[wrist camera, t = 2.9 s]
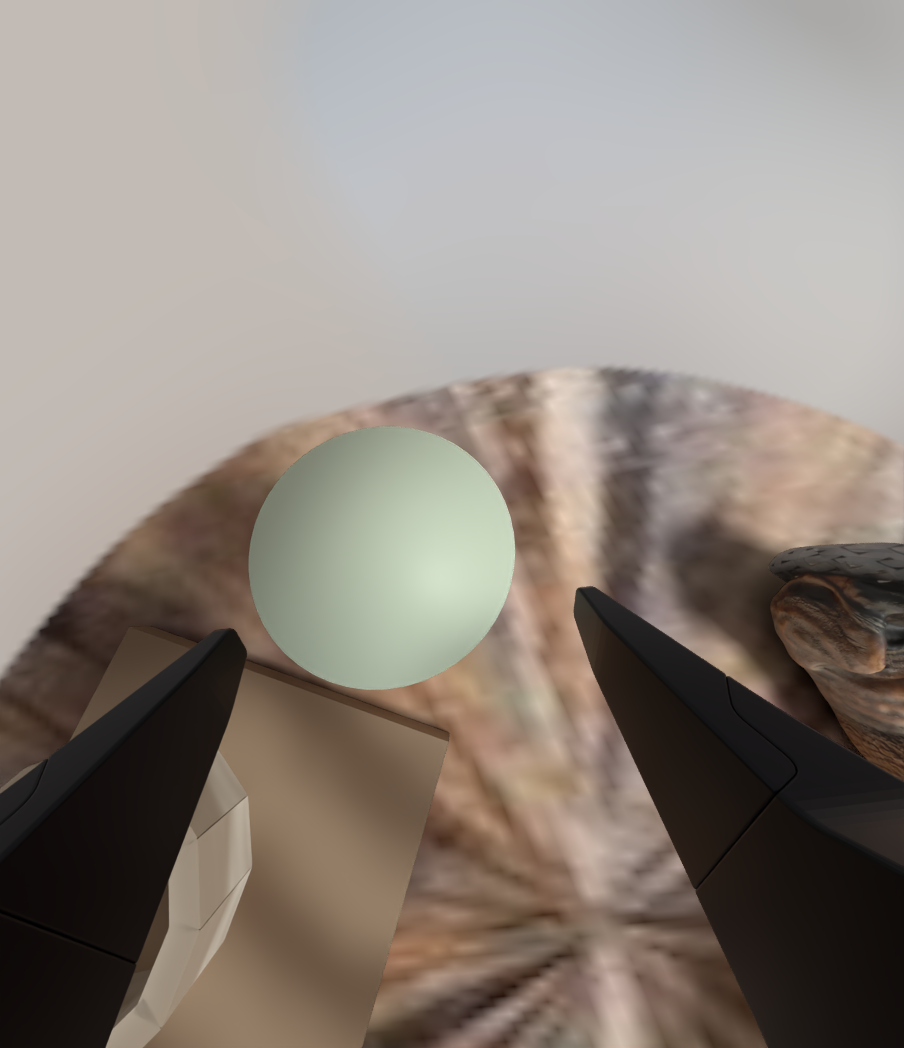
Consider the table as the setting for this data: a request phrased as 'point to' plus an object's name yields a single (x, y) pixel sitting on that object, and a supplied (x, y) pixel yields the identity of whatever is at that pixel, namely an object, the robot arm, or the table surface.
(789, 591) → the dark brown lumpy piece
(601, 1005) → the table surface
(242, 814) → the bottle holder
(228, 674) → the robot arm
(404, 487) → the pale green peg
